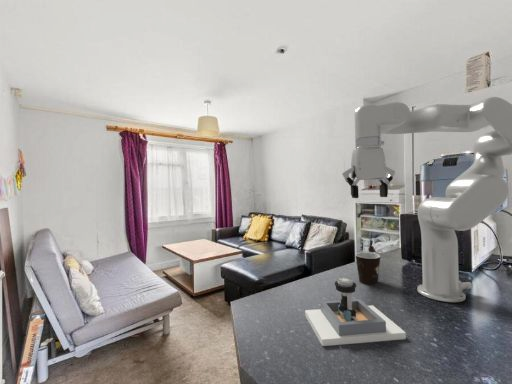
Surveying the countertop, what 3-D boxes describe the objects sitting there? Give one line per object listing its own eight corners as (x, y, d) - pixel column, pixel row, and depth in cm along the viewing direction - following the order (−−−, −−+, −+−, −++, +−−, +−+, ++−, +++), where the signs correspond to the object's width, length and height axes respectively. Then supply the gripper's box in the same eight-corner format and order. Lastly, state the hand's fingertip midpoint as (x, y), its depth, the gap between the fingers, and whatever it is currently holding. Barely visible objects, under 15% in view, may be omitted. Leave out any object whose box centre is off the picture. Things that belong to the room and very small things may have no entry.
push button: (365, 323, 62) (364, 283, 62) (347, 327, 61) (346, 286, 61) (348, 311, 69) (347, 275, 69) (331, 315, 67) (330, 278, 67)
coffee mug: (369, 276, 100) (368, 251, 100) (386, 284, 92) (385, 256, 92) (344, 280, 96) (343, 254, 96) (360, 288, 88) (359, 260, 88)
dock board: (372, 310, 72) (372, 296, 72) (405, 338, 58) (405, 321, 58) (305, 315, 71) (304, 301, 71) (322, 346, 57) (321, 328, 57)
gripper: (386, 146, 86) (387, 196, 86) (337, 147, 84) (339, 198, 85) (400, 142, 78) (402, 196, 78) (347, 143, 77) (349, 198, 77)
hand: (369, 197), depth 81 cm, fingers open, 9 cm apart
